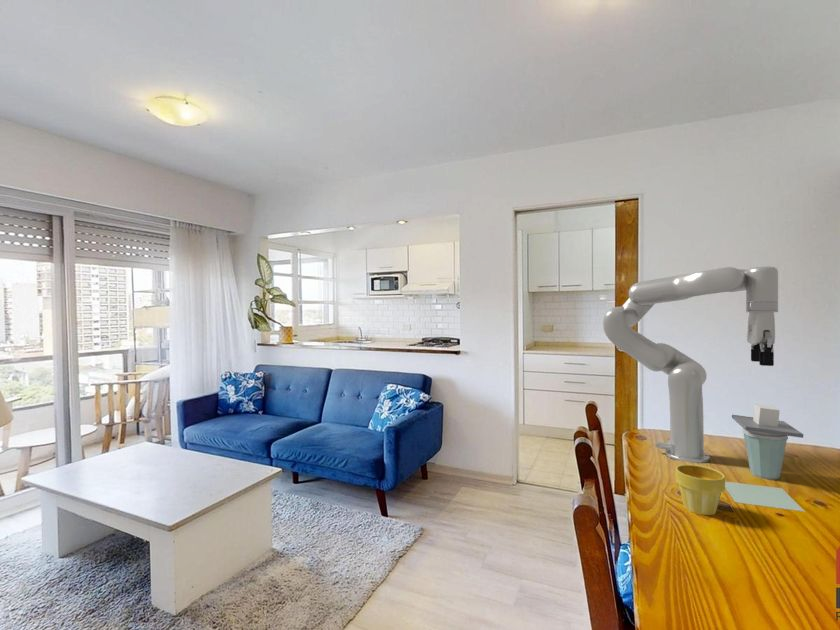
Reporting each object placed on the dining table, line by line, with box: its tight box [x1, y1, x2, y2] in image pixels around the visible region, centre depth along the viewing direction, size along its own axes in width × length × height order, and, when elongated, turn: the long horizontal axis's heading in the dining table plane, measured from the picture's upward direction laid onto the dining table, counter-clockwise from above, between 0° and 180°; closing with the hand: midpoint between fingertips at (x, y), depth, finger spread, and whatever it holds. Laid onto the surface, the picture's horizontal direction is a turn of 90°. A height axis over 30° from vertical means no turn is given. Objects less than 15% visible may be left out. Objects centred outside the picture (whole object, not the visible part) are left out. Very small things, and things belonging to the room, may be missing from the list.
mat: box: [725, 481, 806, 513], centre depth 110 cm, size 14×14×1 cm
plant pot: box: [674, 463, 726, 516], centre depth 104 cm, size 10×10×10 cm
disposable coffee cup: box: [741, 427, 789, 481], centre depth 123 cm, size 11×11×15 cm
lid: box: [731, 404, 804, 439], centre depth 122 cm, size 13×13×6 cm
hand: (761, 363), depth 126 cm, fingers open, 9 cm apart
